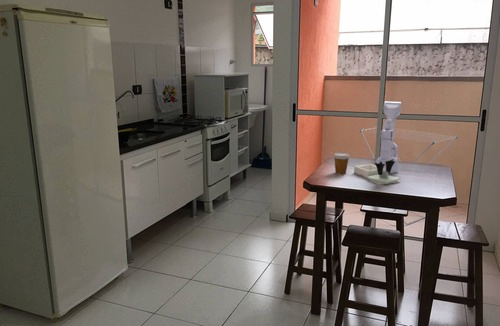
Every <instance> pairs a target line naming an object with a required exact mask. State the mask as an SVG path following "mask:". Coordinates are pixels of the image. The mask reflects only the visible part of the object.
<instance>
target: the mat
mask: <svg viewBox="0 0 500 326" xmlns="http://www.w3.org/2000/svg"><path fill="white" fill-rule="evenodd" d="M368 182H372V183H374V184H376V185H379V186H382V185H384V184H383V183H379V182H376V181H372V180H370V179H368ZM399 182H400V180H397V181H395V182H392V183H391V184H394V183H399ZM389 184H390V183H388V184H387V185H389Z"/></svg>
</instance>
